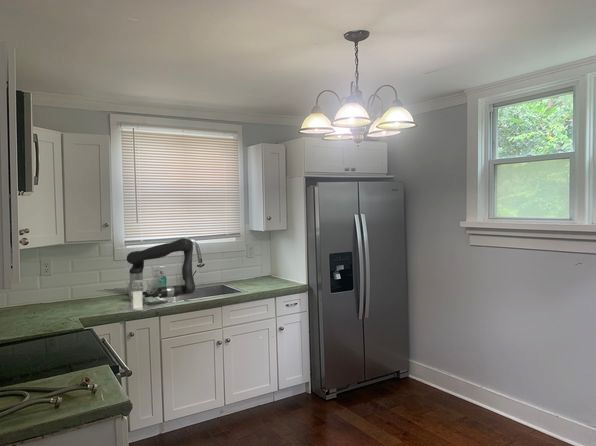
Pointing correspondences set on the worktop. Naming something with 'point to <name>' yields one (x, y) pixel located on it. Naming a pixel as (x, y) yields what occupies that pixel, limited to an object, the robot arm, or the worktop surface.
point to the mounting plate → (144, 308)
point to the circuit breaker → (141, 288)
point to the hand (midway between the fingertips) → (142, 294)
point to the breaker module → (136, 299)
